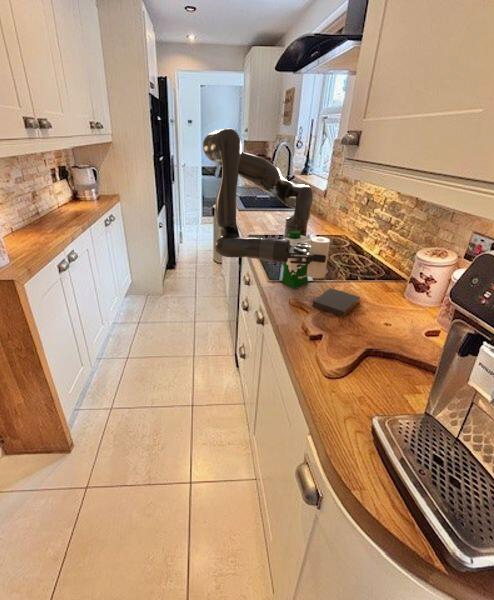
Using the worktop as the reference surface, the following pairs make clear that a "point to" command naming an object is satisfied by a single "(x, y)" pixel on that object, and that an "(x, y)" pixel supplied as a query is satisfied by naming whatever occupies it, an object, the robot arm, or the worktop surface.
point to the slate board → (336, 302)
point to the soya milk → (295, 272)
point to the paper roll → (320, 248)
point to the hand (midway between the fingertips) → (326, 255)
